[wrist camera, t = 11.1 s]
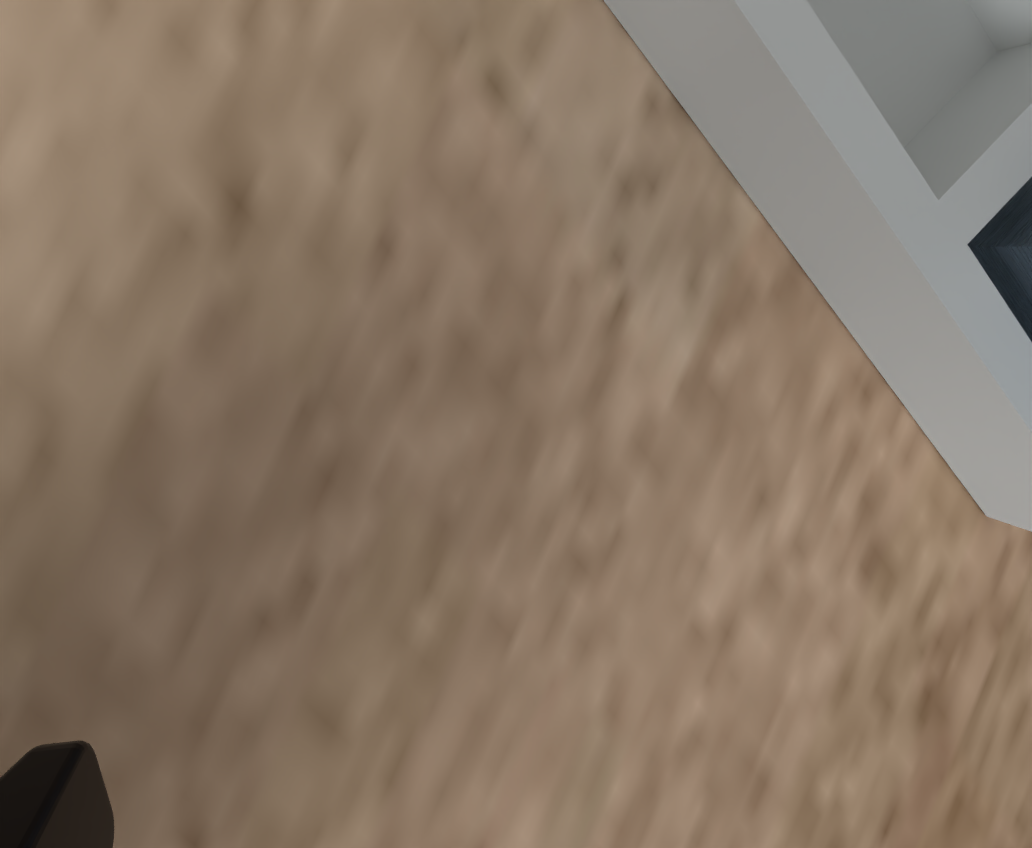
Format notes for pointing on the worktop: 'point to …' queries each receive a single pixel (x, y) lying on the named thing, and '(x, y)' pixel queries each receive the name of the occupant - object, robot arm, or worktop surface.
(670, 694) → the worktop surface
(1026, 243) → the brushed metal pillar
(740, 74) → the rack
